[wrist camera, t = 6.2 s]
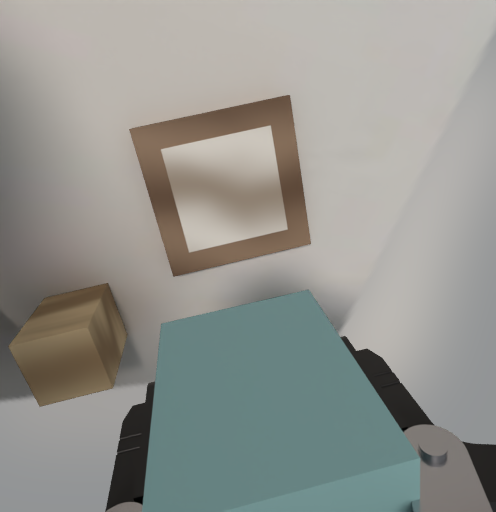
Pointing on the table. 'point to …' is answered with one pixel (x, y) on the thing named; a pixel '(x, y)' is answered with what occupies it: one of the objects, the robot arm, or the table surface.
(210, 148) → the brown framed white board
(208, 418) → the teal block
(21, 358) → the ochre block
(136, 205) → the table surface
